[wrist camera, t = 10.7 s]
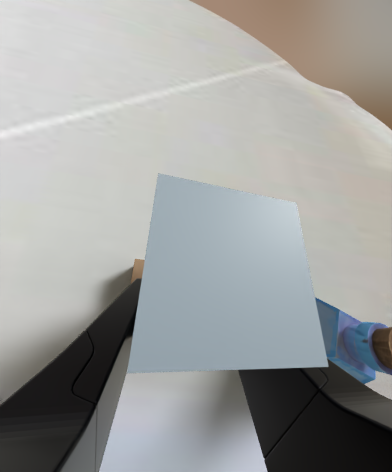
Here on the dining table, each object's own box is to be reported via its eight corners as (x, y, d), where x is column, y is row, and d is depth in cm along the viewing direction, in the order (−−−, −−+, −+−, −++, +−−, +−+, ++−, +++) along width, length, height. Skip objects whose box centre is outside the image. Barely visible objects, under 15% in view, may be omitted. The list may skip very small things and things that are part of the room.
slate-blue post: (189, 322, 15) (328, 366, 4) (140, 320, 14) (126, 372, 3) (192, 273, 16) (296, 202, 5) (147, 269, 16) (158, 173, 4)
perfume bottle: (301, 367, 22) (449, 425, 11) (259, 344, 22) (371, 382, 11) (309, 318, 25) (434, 327, 14) (271, 296, 25) (371, 289, 14)
